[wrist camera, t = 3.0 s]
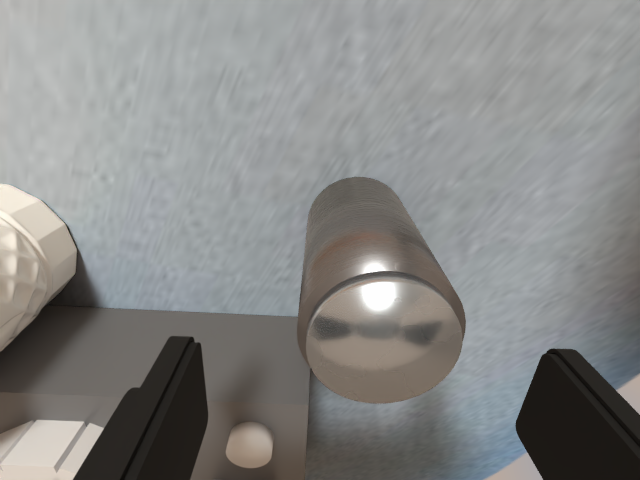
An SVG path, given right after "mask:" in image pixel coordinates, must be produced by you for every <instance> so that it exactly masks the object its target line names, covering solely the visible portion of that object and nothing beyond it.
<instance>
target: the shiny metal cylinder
mask: <svg viewBox="0 0 640 480" xmlns="http://www.w3.org/2000/svg"><path fill="white" fill-rule="evenodd" d="M465 324H466V320H465V312H464V309H463V306H462V303H461V301H460V299H459V297H458V295H457V294H456V292H455V290H454V289H453V287H452V285H451V284H450V282H449V280H448V279H447V277H446V275H445V274H444V272H443V270H442V269H441V267H440V265H439V264H438V262H437V260H436V259H435V257H434V255H433V254H432V252H431V250H430V249H429V247H428V245H427V244H426V242H425V240H424V239H423V237H422V236H421V234H420V232H419V231H418V229H417V227H416V226H415V224H414V222H413V221H412V219H411V217H410V216H409V214H408V212H407V211H406V209H405V207H404V206H403V204H402V202H401V201H400V199H399V198H398V196H397V195H396V193H395V192H394V191H393V190H392V189H391V188H389V187H388V186H387V185H385V184H383V183H382V182H380V181H377V180H375V179H371V178H365V177H352V178H346V179H342V180H339V181H337V182H335V183H333V184H331V185H329V186H328V187H327V188H325V189H324V190H323V191H322V192H321V193H320V194H319V195H318V196H317V198H316V199H315V201H314V202H313V204H312V206H311V209H310V211H309V215H308V223H307V233H306V243H305V253H304V263H303V273H302V283H301V293H300V303H299V313H298V323H297V341H298V345H299V349H300V351H301V354H302V356H303V358H304V360H305V361H306V363H307V364H308V365H309V367H310V368H311V369H312V371H313V373H314V374H315V376H316V377H317V378H318V379H319V381H320V382H322V383H323V384H324V385H325V386H326V387H327V388H329V389H330V390H332V391H333V392H335V393H337V394H339V395H341V396H343V397H346V398H348V399H351V400H355V401H359V402H365V403H393V402H398V401H403V400H407V399H410V398H413V397H416V396H418V395H420V394H422V393H424V392H426V391H428V390H430V389H431V388H433V387H434V386H436V385H437V384H438V383H440V382H441V381H442V380H443V379H444V378H445V377H446V376H447V375H448V374H449V373H450V371H451V370H452V369H453V367H454V366H455V364H456V362H457V360H458V358H459V355H460V353H461V348H462V341H463V338H464V333H465Z"/></svg>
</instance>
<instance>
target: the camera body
mask: <svg viewBox="0 0 640 480" xmlns="http://www.w3.org/2000/svg"><path fill="white" fill-rule="evenodd" d="M297 323H298V317H286V316H264V315H243V314H221V313H200V312H178V311H157V310H135V309H114V308H92V307H70V306H49V305H45V306H44V307H43V308H42V309H41V310H40V313H39V314H38V316H37V317H36V318H35V319H34V320H33V321H32V322H31V323H30V324H29V325H28V326H27V327H25V328H24V329H23V330H22V331H21V332H20V333H19V335H18V336H17V337H16V338H15V339H14V340H13V341H12V342H11V343H10V344H9V345H7V346H6V347H5V348H4V349H3V350H2V351H1V352H0V480H73V478H74V477H75V475H76V473H77V472H78V470H79V468H80V467H81V465H82V463H83V462H84V460H85V459H86V457H87V455H88V454H89V452H90V450H91V449H92V447H93V445H94V444H95V442H96V441H97V439H98V437H99V436H100V434H101V432H102V431H103V429H104V428H105V426H106V424H107V423H108V421H109V419H110V418H111V416H112V414H113V413H114V411H115V410H116V408H117V406H118V405H119V403H120V401H121V400H122V398H123V397H124V395H125V394H126V392H127V391H128V390H129V389H131V388H134V387H138V388H140V387H141V385H142V383H143V381H144V380H145V378H146V376H147V375H148V373H149V371H150V369H151V368H152V366H153V364H154V362H155V361H156V359H157V357H158V355H159V354H160V352H161V350H162V349H163V347H164V345H165V343H166V342H167V340H168V338H169V337H170V336H190V337H193V338H194V340H195V342H199V343H201V348H202V358H203V367H204V377H205V386H206V396H207V405H208V423H207V428H206V431H205V434H204V438H203V441H202V444H201V447H200V450H199V453H198V457H197V460H196V463H195V466H194V469H193V472H192V476H191V479H190V480H305V462H306V444H307V426H308V407H309V384H310V367H309V365H308V364H307V363H306V361H305V360H304V358H303V356H302V354H301V351H300V349H299V345H298V341H297Z"/></svg>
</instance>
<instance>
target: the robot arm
mask: <svg viewBox="0 0 640 480" xmlns="http://www.w3.org/2000/svg"><path fill="white" fill-rule="evenodd" d="M207 423H208V405H207V396H206V386H205V377H204V367H203V358H202V348H201V343H199V342H195V340H194V338H193V337H190V336H170V337H169V338H168V340H167V342H166V343H165V345H164V347H163V349H162V350H161V352H160V354H159V355H158V357H157V359H156V361H155V362H154V364H153V366H152V368H151V369H150V371H149V373H148V375H147V376H146V378H145V380H144V381H143V383H142V385H141V387H140V388H138V387H134V388H131V389H129V390H128V391H127V392H126V394H125V395H124V397H123V398H122V400H121V401H120V403H119V405H118V406H117V408H116V410H115V411H114V413H113V414H112V416H111V418H110V419H109V421H108V423H107V424H106V426H105V428H104V429H103V431H102V432H101V434H100V436H99V437H98V439H97V441H96V442H95V444H94V445H93V447H92V449H91V450H90V452H89V454H88V455H87V457H86V459H85V460H84V462H83V463H82V465H81V467H80V468H79V470H78V472H77V473H76V475H75V477H74V478H73V480H190V479H191V476H192V472H193V469H194V466H195V463H196V460H197V457H198V453H199V450H200V447H201V444H202V441H203V438H204V434H205V431H206V428H207ZM516 431H517V434H518V436H519V438H520V440H521V442H522V443H523V445H524V447H525V449H526V450H527V452H528V454H529V456H530V457H531V459H532V461H533V463H534V464H535V466H536V468H537V469H538V471H539V473H540V475H541V476H542V478H543V480H640V415H639V414H638V413H637V412H636V411H635V410H634V409H633V408H632V407H631V406H630V405H629V403H628V402H627V401H626V400H625V399H624V398H623V397H622V396H621V395H620V394H619V393H618V392H617V391H616V390H615V389H614V388H613V387H612V386H611V385H610V384H609V383H608V382H607V381H606V380H605V379H604V378H603V377H602V376H601V375H600V374H599V373H598V372H597V371H596V370H595V369H594V368H593V367H592V366H591V365H590V364H589V363H588V362H587V361H586V360H585V359H584V358H583V356H582V355H581V354H580V353H578V352H577V351H576V350H573V349H550V350H548V351H547V353H546V354H544V355H542V357H541V359H540V361H539V364H538V366H537V369H536V372H535V374H534V377H533V379H532V382H531V384H530V387H529V390H528V392H527V395H526V397H525V400H524V402H523V405H522V408H521V410H520V413H519V415H518V418H517V420H516Z"/></svg>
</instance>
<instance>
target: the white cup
mask: <svg viewBox="0 0 640 480" xmlns="http://www.w3.org/2000/svg"><path fill="white" fill-rule="evenodd" d="M76 258H77V249H76V246H75V244H74V242H73V240H72V238H71V235H70V233H69V231H68V229H67V227H66V225H65V223H64V222H63V221H62V220H61V219H60V218H59V217H58V216H57V215H56V214H55V213H54V212H53V211H52V210H51V209H50V208H49V207H48V206H47V205H46V204H45V203H44V202H43V201H41V200H40V199H38V198H36V197H34V196H32V195H30V194H28V193H26V192H24V191H22V190H20V189H17V188H15V187H13V186H11V185H8V184H0V352H1V351H2V350H3V349H4V348H5V347H6V346H7V345H9V344H10V343H11V342H12V341H13V340H14V339H15V338H16V337H17V336H18V335H19V333H20V332H21V331H22V330H23V329H24V328H25V327H27V326H28V325H29V324H30V323H31V322H32V321H33V320H34V319H35V318H36V317H37V316H38V314H39V313H40V310H41V309H42V308H43V307H44V306H45V305H47V304H48V303H49V302H50V301H51V300H52V299H53V298H54V297H55V296H56V295H57V294H59V293H60V292H61V291H62V289H63V288H64V287H65V286H66V285H67V283H68V282H69V281H70V280H71V278H72V277H73V276H74V275H75V273H76Z"/></svg>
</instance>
